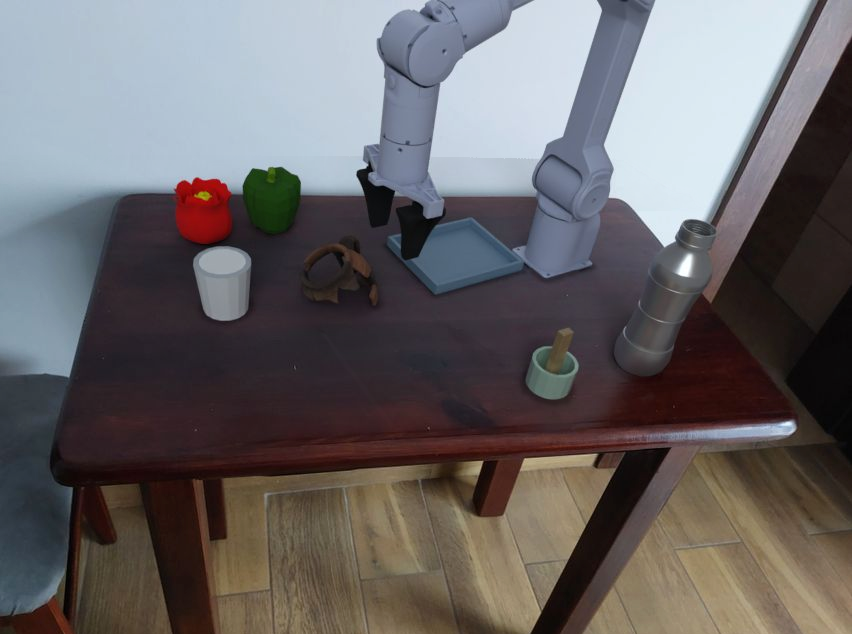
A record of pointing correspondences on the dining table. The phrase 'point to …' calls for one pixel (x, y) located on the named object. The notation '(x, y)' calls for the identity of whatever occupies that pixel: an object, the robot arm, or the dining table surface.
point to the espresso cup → (550, 375)
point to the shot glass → (223, 281)
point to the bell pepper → (272, 198)
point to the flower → (203, 210)
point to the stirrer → (559, 351)
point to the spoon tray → (459, 256)
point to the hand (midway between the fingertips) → (394, 240)
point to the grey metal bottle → (666, 299)
